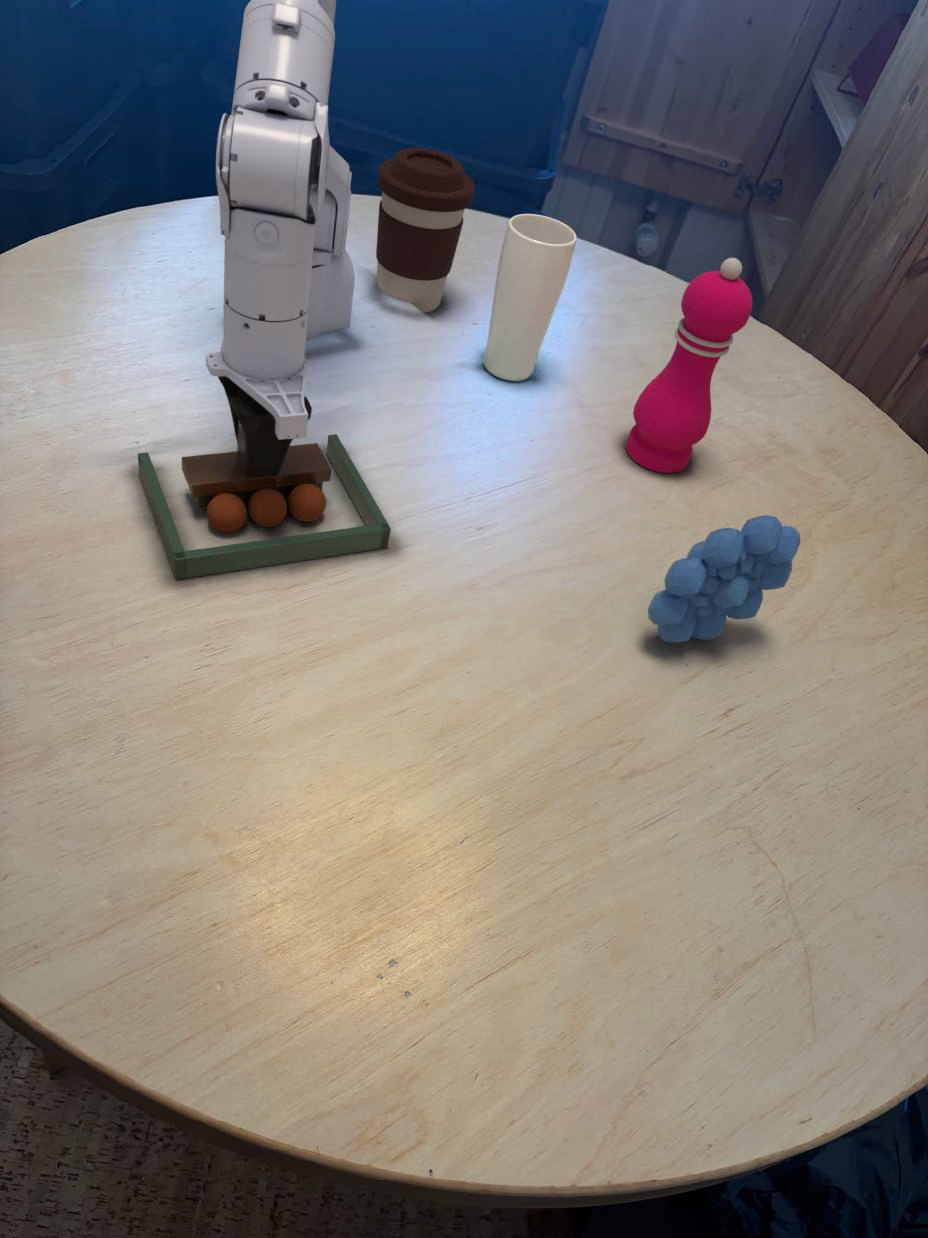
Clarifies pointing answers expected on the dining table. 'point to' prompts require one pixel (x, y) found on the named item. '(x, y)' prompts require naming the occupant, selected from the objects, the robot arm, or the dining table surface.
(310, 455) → the brush
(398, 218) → the coffee cup
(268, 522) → the ball middle
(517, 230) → the drinking glass
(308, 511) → the ball
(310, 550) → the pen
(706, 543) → the grapes
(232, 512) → the ball
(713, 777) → the dining table surface
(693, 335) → the pepper mill
